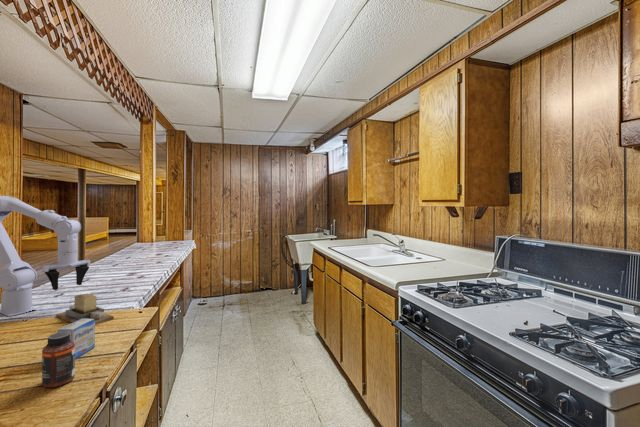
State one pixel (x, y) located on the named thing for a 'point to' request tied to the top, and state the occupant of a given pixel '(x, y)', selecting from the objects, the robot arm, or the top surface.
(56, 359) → the supplement bottle
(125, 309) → the top surface
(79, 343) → the medicine box
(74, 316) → the brown board
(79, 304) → the block
